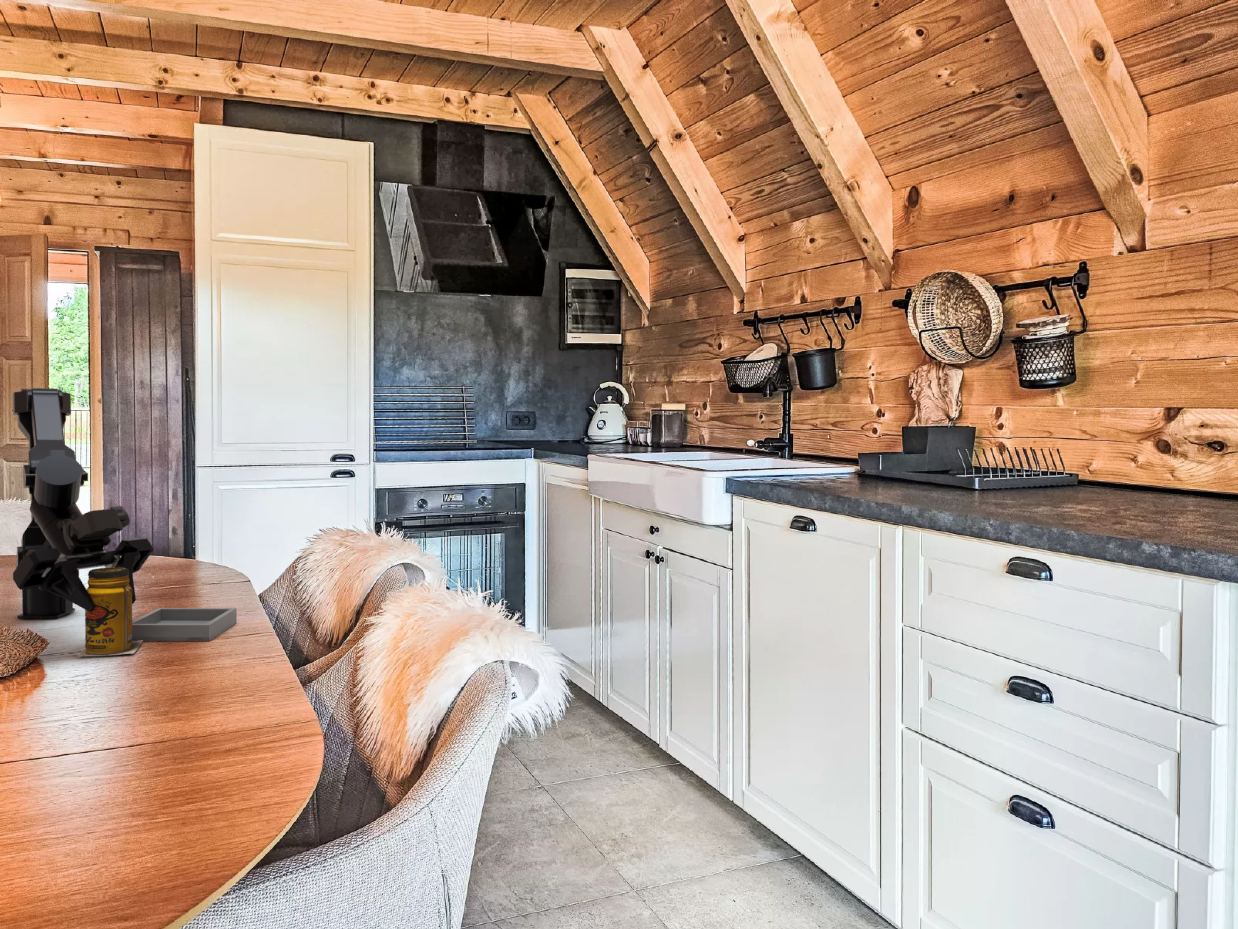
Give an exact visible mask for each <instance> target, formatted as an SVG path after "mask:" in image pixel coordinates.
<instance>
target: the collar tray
mask: <svg viewBox="0 0 1238 929" xmlns="http://www.w3.org/2000/svg"><path fill="white" fill-rule="evenodd" d="M237 612H238V611H237V608H235V607H234V608H233V607H231V608H230V607H229V608H228V607H221V608H220V607H218V608H216V607H213V608H212V607H208V608H206V607H158V608H156V609H154V610H152V611H150V612H147V613H146V614H143V615H141V616H140V617H138V618H136V619H132V641H138V640H143V641H142V642H210V641H212V640H213V639H215V638H216V637H218V636H220V634H223V633H224V632H226V631H227V630H229V629H230V628H232V627H233V626H234V625H236V624H237V618H238V617H237Z"/></svg>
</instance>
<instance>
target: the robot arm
mask: <svg viewBox="0 0 1238 929" xmlns="http://www.w3.org/2000/svg"><path fill="white" fill-rule="evenodd" d="M71 395H72V394H71V393H69V392H65V391H63V390H62V389H58V388H50V387H49V388H48V387H47V388H46V387H45V388H43V387H41V388H40V387H32V388H20V391H14V392H13V394H12V415H13V416H17V427H18V429H19V430H20V432H21V433H22V434H23V435H24V437H25V438H26V439H27V441H28V454H27V455H28V457H27V464H23V466H22V481H23V482H22V484H23V488H24V489H28V493H29V494H30V506H29V511H30V516H31V517H30V518H31V520H30V523H29V524H28V526H27V527H26V529H25V530H24V532H23V533H22V536H21V542H20V544H21V546H16V561H15V562H16V565H15V567H16V568H15V569H14V571H13V572H12V579H13V582H14V584H15V585H16V586H17V587H16V588H18V589H19V590H20V591H21V596H22V597H21V599H22V602H21V603H22V608H21V610H22V613H20V614H17V615H16V619H59V618H61V617H63V616H65V615H69V614H71V613H73V612H75V611H76V608H74V605H75V606H78V607H79V608H81V609H83V610H84V611H85V610H87V611H89V612H92V611H93V610H94V608H95V605H94V603H93V600H92V598H91V596H90V595H89V593H88V591H87V590H86V589H87V588H86V586H85V585H84V583H83V581H82V579H81V578H80V570H86V569H95V568H102V567H104V568H110V567H121V568H127V569H128V570H129V585H130V587H131V588H132V605H133V604H134V603H135V602H136V600H137V598H136V592H135V591H136V589H135V583H134V574H135V573H137V572H138V571H140V569H141V568H142V567H143V565H144V564H145V562H146V561H147V560H148V558H149V557H150V556H151V555H152V553H153V552H154V551H155V548H154V547H153V545H152V544H151V542H150V540H149V539H148V538H147V537H146V538H145V537H139V538H130V539H122V540H121V541H119V544H118V545H117V547H116V548H115V549H114V550H109V551H106V550H105V548H104V547H106V546H107V547H108V545H109V544H110V543H111V541H112V540H111V538H110V536H112V535H114V534H115V533H117V532H120V531H122V530H123V528H126V527H127V526H129V525H130V523H131V521H130V516H129V513H128V512H127V510H125V508H124V507H123V506H121V505H118V506H111V507H110V508H108V509H95V510H90V511H87V512H85V513H82V511H81V510H80V508H79V507H78V505H77V502H78V501H79V499H80V490H81V487H82V486H84V485H85V482H88V481H89V473H88V472H87V471H85V469H84V468H83V467H82V466H83V465H82V464H80V463H79V462H78V460H77V458H76V453H75V452H76V451H74V450H73V449H72V448H71V447H69V446H67V445H66V442H65V435H64V429H65V425H66V421H67V417H70V416H71V414H72V396H71Z"/></svg>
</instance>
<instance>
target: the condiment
mask: <svg viewBox="0 0 1238 929" xmlns="http://www.w3.org/2000/svg"><path fill="white" fill-rule="evenodd" d="M87 576H88V579H87V586H88V587H87V588H86V590H87V591H88V593H89V595H90V596H91V598H92V600H93V603H94V605H95V608H94V610H93V611H92V612H89V611H87V610H85V609H84V611H85V612H84V616H85V618H84V624H85V625H84V627H85V638H84V639H85V641H84V642H85V644H84V646H85V647H84V648H83V649H82V651H81V652H80V653H79V654H78V655H77V657H104V656H117V655H126V654H135V653H136V651H137V650H138V649H139V648H140V646H141V645H142V643H143V642H144V641H143V640H138V641H132V621H133V604H132V588H131V587H130V585H129V570H128V569H127V568H121V567H110V568H106V567H98V568H91V569H90V570H89V571H88V573H87Z"/></svg>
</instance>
